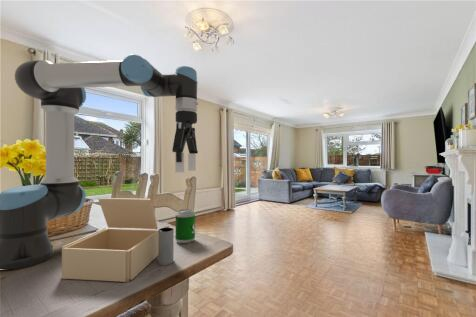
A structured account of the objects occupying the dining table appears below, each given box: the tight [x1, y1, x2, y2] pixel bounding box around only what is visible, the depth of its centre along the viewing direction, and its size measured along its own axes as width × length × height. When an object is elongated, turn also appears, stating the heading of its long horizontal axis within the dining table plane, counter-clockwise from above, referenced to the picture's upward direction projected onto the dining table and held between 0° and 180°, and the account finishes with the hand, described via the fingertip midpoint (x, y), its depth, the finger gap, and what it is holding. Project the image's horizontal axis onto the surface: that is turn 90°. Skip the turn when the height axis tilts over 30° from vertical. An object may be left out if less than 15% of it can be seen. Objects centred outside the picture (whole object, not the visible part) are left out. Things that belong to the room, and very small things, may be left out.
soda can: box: [175, 208, 196, 244], centre depth 93 cm, size 8×8×12 cm
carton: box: [61, 227, 159, 283], centre depth 72 cm, size 20×20×8 cm
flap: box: [98, 197, 159, 230], centre depth 79 cm, size 18×1×12 cm, turn 85°
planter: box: [157, 226, 175, 266], centre depth 74 cm, size 4×4×10 cm
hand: (186, 171), depth 84 cm, fingers open, 13 cm apart
